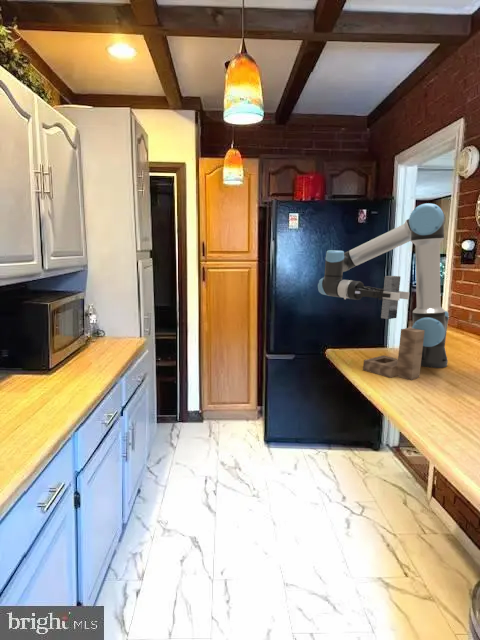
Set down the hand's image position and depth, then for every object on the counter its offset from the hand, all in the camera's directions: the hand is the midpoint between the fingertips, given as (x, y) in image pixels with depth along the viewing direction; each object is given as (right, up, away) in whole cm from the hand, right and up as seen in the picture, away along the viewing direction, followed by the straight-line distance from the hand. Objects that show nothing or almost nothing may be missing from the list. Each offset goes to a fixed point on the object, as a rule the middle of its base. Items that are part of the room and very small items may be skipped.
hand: (403, 296), depth 164 cm
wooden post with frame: (-2, -29, +6) cm, 30 cm away
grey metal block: (-4, -8, +5) cm, 10 cm away
